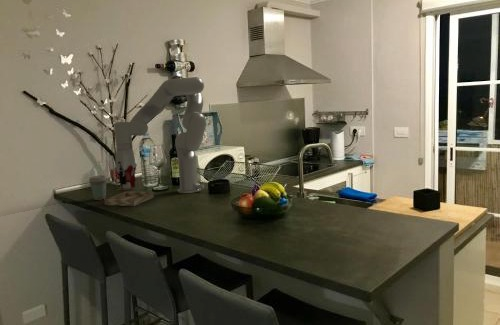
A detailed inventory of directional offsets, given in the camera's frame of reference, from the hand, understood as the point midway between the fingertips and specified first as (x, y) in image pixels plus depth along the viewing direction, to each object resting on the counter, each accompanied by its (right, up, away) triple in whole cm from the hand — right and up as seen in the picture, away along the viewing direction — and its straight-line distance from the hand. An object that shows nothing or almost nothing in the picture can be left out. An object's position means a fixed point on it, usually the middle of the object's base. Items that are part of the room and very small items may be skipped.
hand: (127, 182), depth 207 cm
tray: (+1, -9, +1) cm, 10 cm away
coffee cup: (-17, -10, +9) cm, 22 cm away
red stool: (0, -3, +1) cm, 4 cm away
